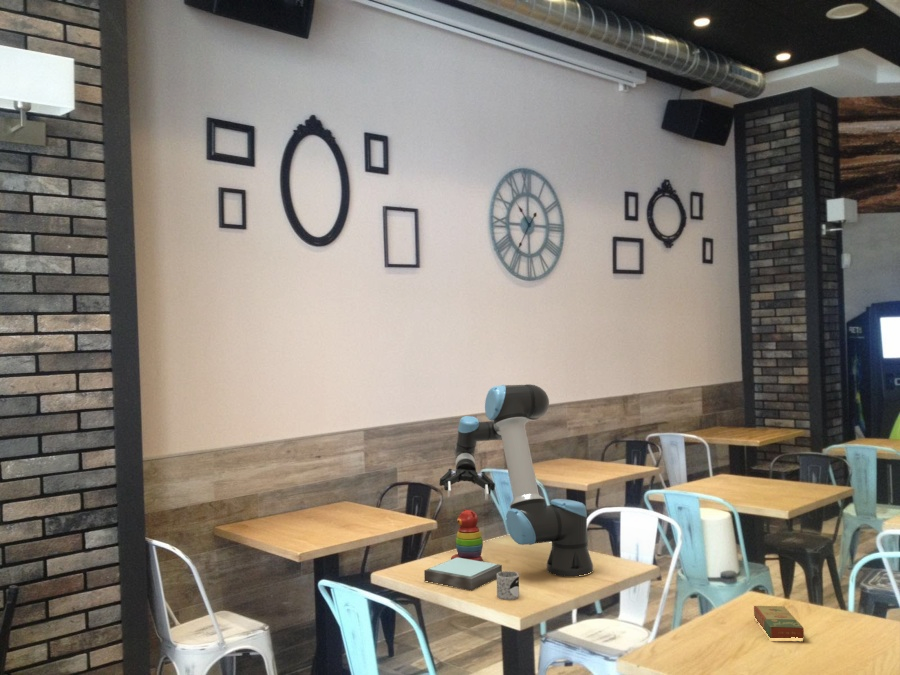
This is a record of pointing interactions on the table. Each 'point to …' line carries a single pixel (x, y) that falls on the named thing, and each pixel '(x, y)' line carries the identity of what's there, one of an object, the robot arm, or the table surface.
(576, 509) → the robot arm
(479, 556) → the stacking bear
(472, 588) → the plinth
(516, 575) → the mug
